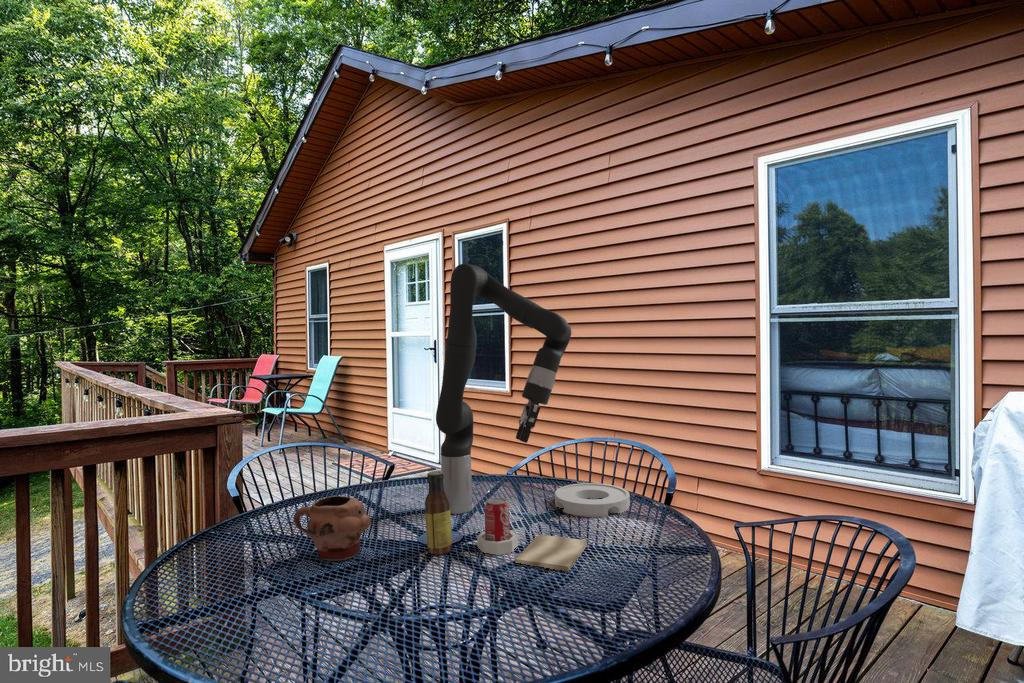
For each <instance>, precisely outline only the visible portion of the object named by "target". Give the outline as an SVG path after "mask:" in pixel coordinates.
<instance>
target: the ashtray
mask: <svg viewBox="0 0 1024 683" xmlns="http://www.w3.org/2000/svg"><path fill="white" fill-rule="evenodd" d="M586 498H603V499H586ZM630 498H631V496H630V492H629V491H628V490H627V489H625V488H623V487H620V486H618V485H612V484H608V483H598V482H597V483H596V482H595V483H594V482H588V483H587V482H586V483H585V482H581V483H574V484H573V483H571V484H567V485H564V486H561V487H559V488H556V490H555V492H554V505H556V506H555V508H556V507H559V508H558V509H560V508H564V509H562V512H563V513H565V514H569V515H572V516H580V517H586V518H587V517H588V518H589V517H590V518H598V517H599V518H600V517H602V518H604V517H608V516H609V514H613V513H618V514H617V515H620V514H619V513H621V514H623V513H625V512H627V511H628V510H629V509H630V508H629V506H630V505H631V503H630V500H631V499H630ZM628 508H629V509H628ZM627 509H628V510H627ZM626 510H627V511H626ZM624 511H625V512H624ZM622 512H623V513H622Z"/></svg>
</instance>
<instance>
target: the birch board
mask: <svg viewBox="0 0 1024 683" xmlns="http://www.w3.org/2000/svg"><path fill="white" fill-rule="evenodd" d="M587 546H588V540H587V539H579V538H578V539H577V538H569V537H561V536H556V535H555V536H553V535H546V534H538V535H537V536H536V537H535V538H534V539H533V540H532V541H531V542H530V543H529V544H528V545H527V546H526V547H525V548H524V549H523V551H521V552H520V553H519V555H518V556H517V557H516V558H515V559H514V562H515V563H521V564H527V565H532V566H539V567H544V568H543V569H546V568H550V569H549V570H553V569H555V570H556V571H560V570H562V571H561V572H567V571H569V572H570V570H571V568H573V566H574V564H575V563H577V560H578V559H579V558H580V556H581V554H582V553H583V552H584V550H585V549H586V548H587ZM532 566H531V567H532ZM539 567H538V568H539ZM555 570H554V571H555Z"/></svg>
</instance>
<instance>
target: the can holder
mask: <svg viewBox="0 0 1024 683" xmlns="http://www.w3.org/2000/svg"><path fill="white" fill-rule="evenodd" d="M518 537H519V535H518V534H517V533H516V532H514V531H513V530H510V539H509V540H504V541H499V542H495V541H488V540H485V530H483V531H482V532H480V534H478V535H477V536H476V540H477V541H476V542H477V543H476V544H477V545H476V546H477V547H478V548H479V549H480V550H481V551H482V552H484V553H490V554H496V555H495V556H497V555H498V556H502V555H508V554H512V553H514V552H515V550H516V549H517V548H518V547H519V543H518V542H519V540H518ZM517 546H518V547H517ZM516 547H517V548H516ZM478 548H477V549H478ZM515 548H516V549H515ZM479 549H478V550H479ZM514 549H515V550H514ZM480 550H479V551H480ZM481 551H480V552H481ZM482 552H481V553H482ZM511 552H512V553H511ZM490 554H489V555H490Z"/></svg>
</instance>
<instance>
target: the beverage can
mask: <svg viewBox="0 0 1024 683" xmlns="http://www.w3.org/2000/svg"><path fill="white" fill-rule="evenodd" d="M507 501H508V500H507V499H505V498H502V497H493V498H489V499H487V500H486V503H485V505H484V531H485V540H488V541H495V542H499V541H504V540H509V539H510V528H511V527H510V506H509V504H508V502H507Z"/></svg>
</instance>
